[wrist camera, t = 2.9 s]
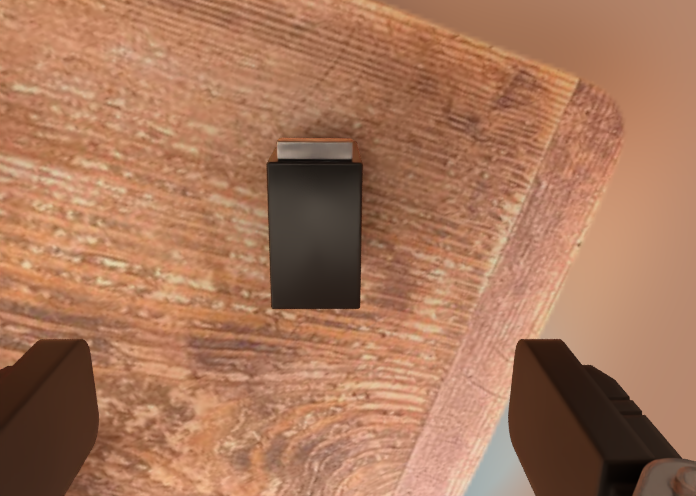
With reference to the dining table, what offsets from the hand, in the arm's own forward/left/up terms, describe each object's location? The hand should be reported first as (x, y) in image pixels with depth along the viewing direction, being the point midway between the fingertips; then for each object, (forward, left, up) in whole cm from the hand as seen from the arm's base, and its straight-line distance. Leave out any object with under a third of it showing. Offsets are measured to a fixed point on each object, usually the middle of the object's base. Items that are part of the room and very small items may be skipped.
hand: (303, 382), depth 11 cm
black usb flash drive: (0, 0, -13) cm, 13 cm away
